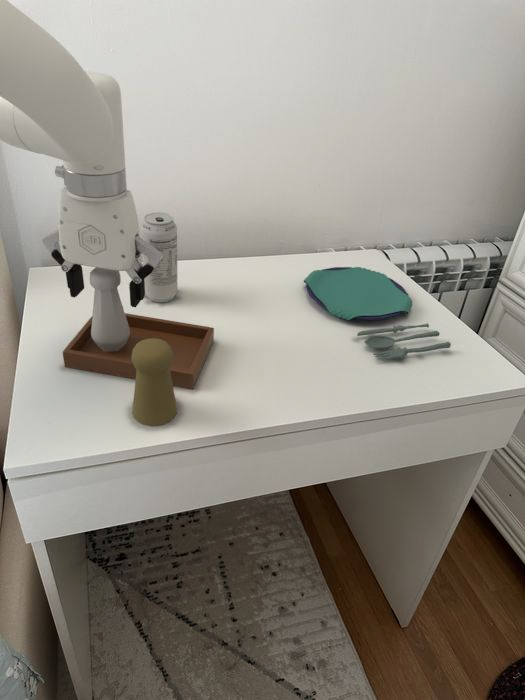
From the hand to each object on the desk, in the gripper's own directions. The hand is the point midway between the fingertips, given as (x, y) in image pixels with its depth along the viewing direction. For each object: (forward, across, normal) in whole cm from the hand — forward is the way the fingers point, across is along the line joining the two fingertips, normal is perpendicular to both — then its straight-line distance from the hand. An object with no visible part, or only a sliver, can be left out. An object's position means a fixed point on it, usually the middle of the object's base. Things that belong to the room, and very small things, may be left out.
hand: (107, 297), depth 78 cm
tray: (+9, +5, 0) cm, 11 cm away
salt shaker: (+9, 0, 0) cm, 9 cm away
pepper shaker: (+10, +11, -12) cm, 19 cm away
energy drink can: (+9, +2, +18) cm, 21 cm away
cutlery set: (+9, +40, +24) cm, 48 cm away
